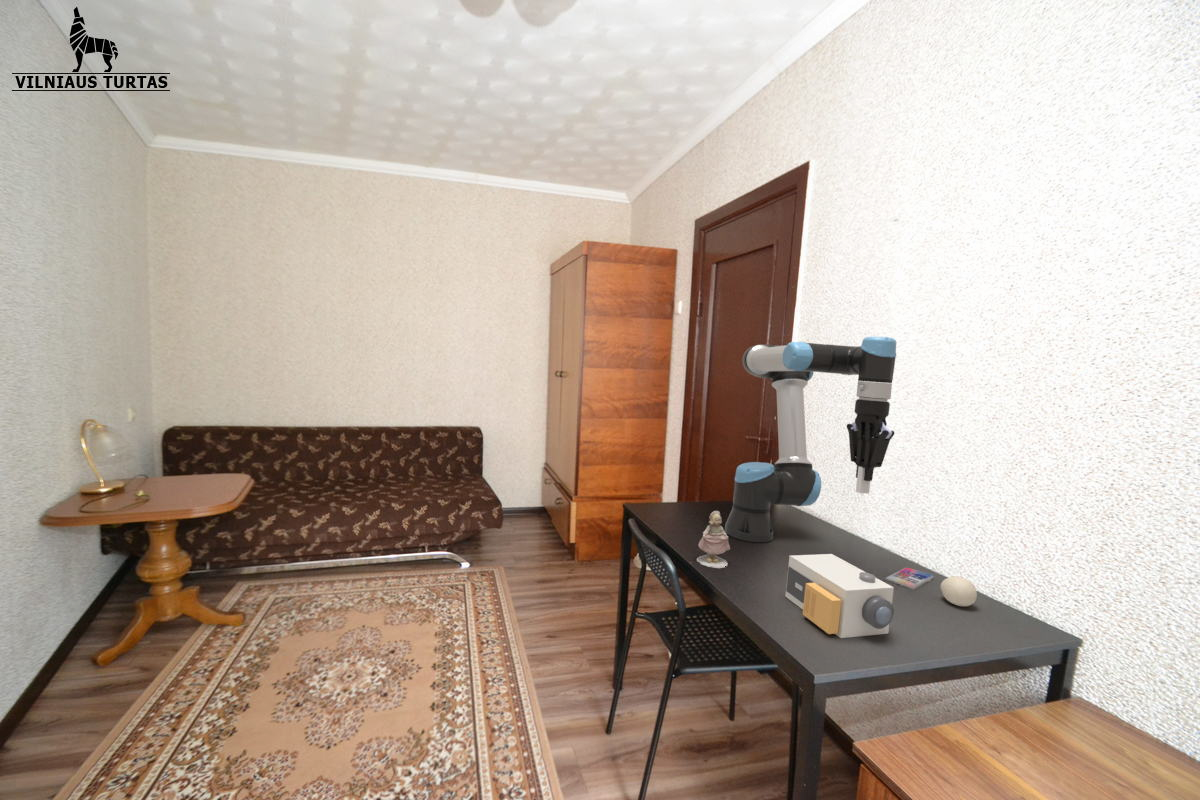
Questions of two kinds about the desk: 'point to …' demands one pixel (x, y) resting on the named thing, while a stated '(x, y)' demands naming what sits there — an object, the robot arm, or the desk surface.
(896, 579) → the smartphone
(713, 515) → the figurine
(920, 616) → the desk surface
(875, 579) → the block
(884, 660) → the desk surface
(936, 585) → the desk surface
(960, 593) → the cream round ball
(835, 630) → the side door
